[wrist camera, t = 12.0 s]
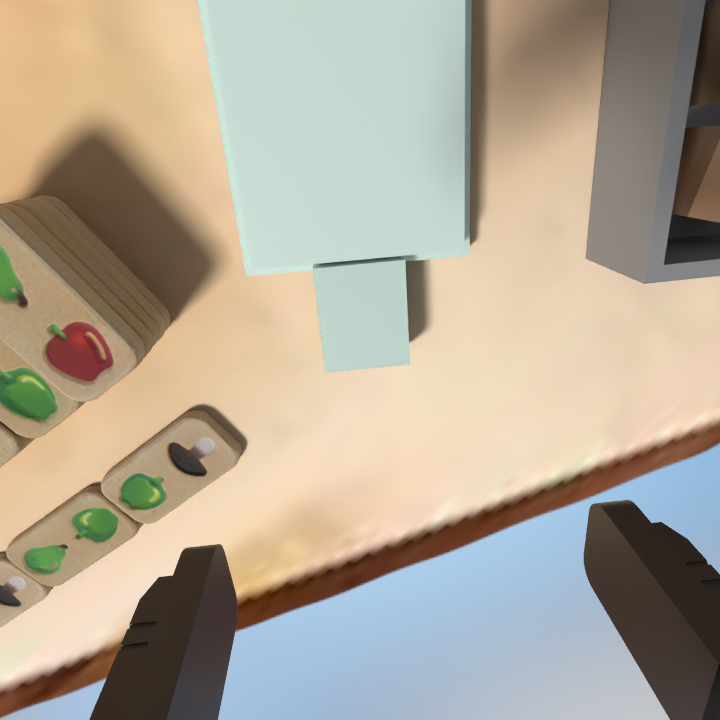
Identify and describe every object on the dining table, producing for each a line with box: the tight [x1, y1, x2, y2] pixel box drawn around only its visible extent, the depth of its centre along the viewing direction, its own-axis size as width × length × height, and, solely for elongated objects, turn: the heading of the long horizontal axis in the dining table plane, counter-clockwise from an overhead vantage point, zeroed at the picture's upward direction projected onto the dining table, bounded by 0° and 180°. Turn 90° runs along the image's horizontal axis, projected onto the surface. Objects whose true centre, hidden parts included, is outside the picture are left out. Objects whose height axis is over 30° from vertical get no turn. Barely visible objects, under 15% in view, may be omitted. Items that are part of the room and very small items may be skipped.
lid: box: [197, 0, 472, 373], centre depth 21 cm, size 18×11×2 cm, turn 5°
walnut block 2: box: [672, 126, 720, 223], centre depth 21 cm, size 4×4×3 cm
